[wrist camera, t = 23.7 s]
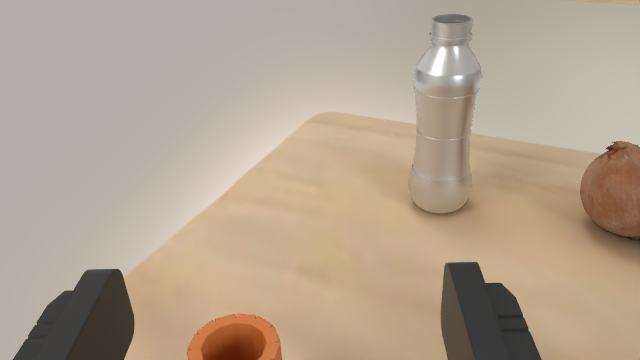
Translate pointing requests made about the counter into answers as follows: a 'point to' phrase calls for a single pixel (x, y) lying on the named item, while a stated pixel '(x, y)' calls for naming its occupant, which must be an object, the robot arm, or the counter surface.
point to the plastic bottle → (444, 116)
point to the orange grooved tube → (236, 340)
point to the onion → (614, 190)
